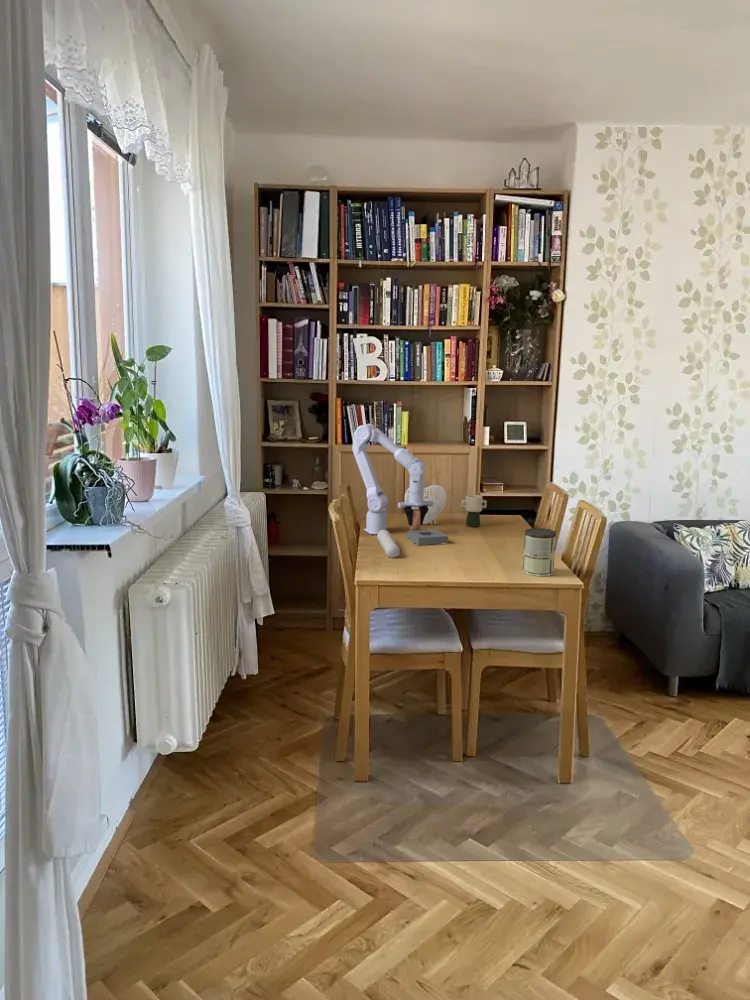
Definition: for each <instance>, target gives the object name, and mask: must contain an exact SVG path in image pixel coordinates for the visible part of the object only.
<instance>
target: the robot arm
mask: <svg viewBox="0 0 750 1000" xmlns="http://www.w3.org/2000/svg"><path fill="white" fill-rule="evenodd" d="M370 442H372V443H373V442H375V443H379V444H380V445H381V446H383V448H385V449H386V450H388V451H389V452H390V453H391V454H393V455H394V460H395V461H397V462H398V463H399V464H400V465H401V466H403V468H404V469H406V470H408V473H409V487H408V488H409V501H408V502H405V501H402V502H400V501H399V502H398V503H397V508H399V509H403V511H404V513H405V516H406V519H407V523H408V525H409V527H410V526H412V514H413V509H412V508H411V507H418V508H419V509H420V510H421V521H420V526H423V525H424V524H423V521H424V518H425V517H426V514H427V512H428V510H429V508H428V507H429V506H431V507H434V502H433V501H429V500H428V501H423V497H424V488H425V472H426V470H427V467H426V463H424V462H423V460H421V459H419V458H418V457H415V456H414V455H413V454H412V453H411V452H410V449H409V448H405V447H399V446H398V445H397V444H396V443H395V442H393V441H392V439H390V438H389V437H388V436H387V435H386V434H385V433H384V432H383V431H381V429H379V428H377V427H376V426H375V425H374V424H372V423H366V424H362V425H361V424H360V425H359V426H358V427H356V429H355V431H354V432H353V440H352V446H351V451H352V453H353V456H354V458H355V461H356V464H357V467H358V469H359V472H360V475H361V478H362V480H363V483H364V485H365V488H366V498H367V507H368V511H367V513H366V519H365V520H366V521H365V522H366V525H365V526H366V527H365V528H363V530H364V531H365V532H367V533H368V534H369V535H371V534H373V535H377V534H378V533H379V531H380V530H387V515H388V513H387V505H388V504H389V498H388V495H386V494H385V493H384V491H383V489H382V487H381V486H380V485H379V482H378V479H377V476H376V474H375V471H374V469H373V465H372V462H371V460H370V458H369V455H368V452H367V448H368V446H369V444H370ZM412 505H414V506H412ZM422 524H423V525H422Z"/></svg>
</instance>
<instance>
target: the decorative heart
mask: <svg viewBox="0 0 750 1000" xmlns="http://www.w3.org/2000/svg"><path fill="white" fill-rule="evenodd" d="M447 498H448V497H447V491H446V490H445V489H444V487H443V486H441V485H439V484H432V485H429V486H427V487H424V497H423V501H433V502H434V507H431V506H429V507H428V508H429V510H428V512H427V513H426V515H425V518H424V521H423V525H425V524H426V525H427V524H430V525H432V524H433V523H434V525H436V524H437V517H438V516H439V515H440V514H441V512H443V510H444V508H445V506H446V503H447ZM408 501H409V487H408V488H407V489H406V491H405V493H404V502H408ZM412 506H414V505H412ZM411 508H412V509H419V508H418V507H411ZM433 520H434V522H433Z"/></svg>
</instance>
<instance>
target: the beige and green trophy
mask: <svg viewBox="0 0 750 1000" xmlns="http://www.w3.org/2000/svg"><path fill="white" fill-rule="evenodd" d="M487 502H488V501H487V500H485V499H483V496H482V495H478V494H468V495H465V499H464V500H463V499H462V500H461V504H460V505H461V507H460V508H462V509H465V511H467V515H466V520H465V525H467V526H469V527H478V526H481V515H480V512H482V511H483V509H486V508H487ZM483 504H484V505H483Z"/></svg>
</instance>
